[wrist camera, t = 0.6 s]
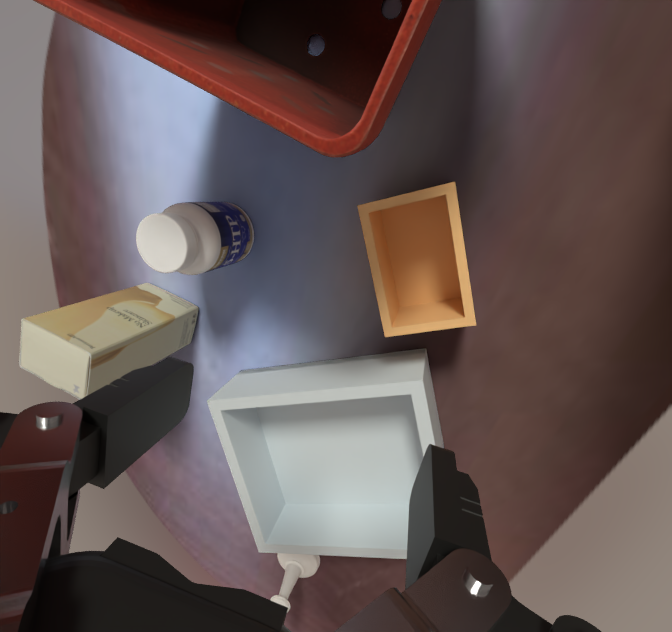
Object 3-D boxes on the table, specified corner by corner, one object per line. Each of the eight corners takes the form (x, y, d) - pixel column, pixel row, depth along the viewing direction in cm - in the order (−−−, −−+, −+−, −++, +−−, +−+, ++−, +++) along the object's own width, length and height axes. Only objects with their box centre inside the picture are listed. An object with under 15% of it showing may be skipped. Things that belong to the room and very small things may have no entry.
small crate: (452, 183, 28) (455, 181, 23) (469, 301, 30) (476, 325, 25) (372, 203, 30) (357, 205, 24) (394, 312, 32) (384, 337, 27)
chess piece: (275, 536, 43) (230, 628, 34) (316, 539, 42) (280, 637, 33) (283, 570, 45) (242, 667, 36) (323, 575, 43) (291, 678, 34)
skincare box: (201, 306, 37) (95, 355, 26) (192, 344, 38) (88, 406, 27) (144, 279, 38) (17, 316, 26) (138, 318, 39) (15, 368, 28)
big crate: (426, 348, 32) (422, 380, 27) (454, 505, 36) (457, 561, 31) (241, 370, 38) (206, 400, 32) (283, 504, 42) (258, 552, 36)
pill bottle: (254, 266, 34) (195, 290, 26) (202, 257, 35) (129, 276, 27) (257, 205, 32) (195, 209, 24) (202, 197, 33) (124, 198, 25)
